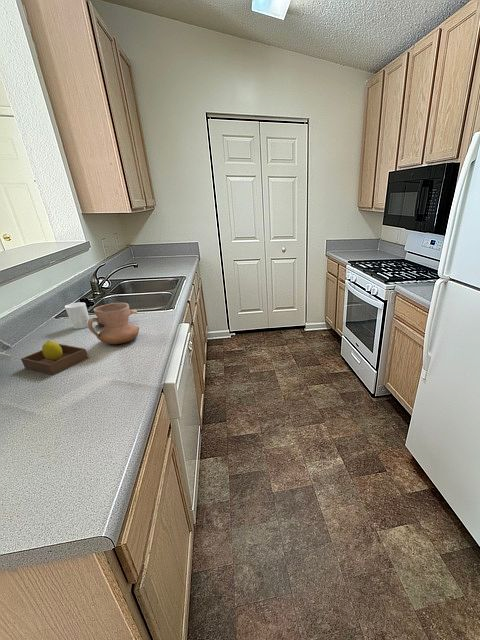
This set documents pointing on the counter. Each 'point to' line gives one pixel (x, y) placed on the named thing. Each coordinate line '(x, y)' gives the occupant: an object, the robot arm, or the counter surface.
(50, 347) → the lemon
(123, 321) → the ceramic jug
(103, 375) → the counter surface
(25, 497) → the counter surface
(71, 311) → the white cup
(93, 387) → the counter surface
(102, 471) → the counter surface
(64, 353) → the tray
